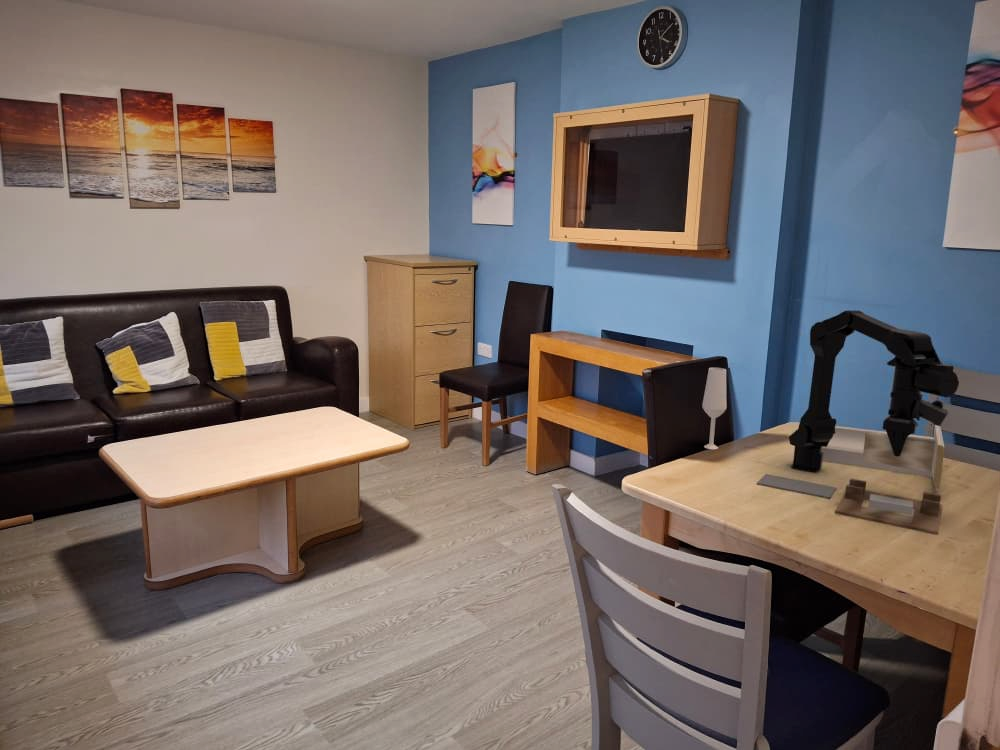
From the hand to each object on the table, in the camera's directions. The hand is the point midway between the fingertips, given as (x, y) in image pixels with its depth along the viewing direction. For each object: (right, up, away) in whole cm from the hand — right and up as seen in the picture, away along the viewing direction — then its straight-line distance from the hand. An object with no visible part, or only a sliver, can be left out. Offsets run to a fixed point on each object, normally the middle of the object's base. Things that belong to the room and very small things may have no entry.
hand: (897, 454), depth 166 cm
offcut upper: (-5, -11, -7) cm, 14 cm away
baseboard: (+20, -9, +20) cm, 29 cm away
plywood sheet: (0, -2, 0) cm, 2 cm away
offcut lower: (-6, -13, -6) cm, 15 cm away
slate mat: (-18, -10, +14) cm, 24 cm away
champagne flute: (-30, -4, +44) cm, 53 cm away
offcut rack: (-3, -13, -1) cm, 13 cm away
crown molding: (+10, -8, +31) cm, 34 cm away
